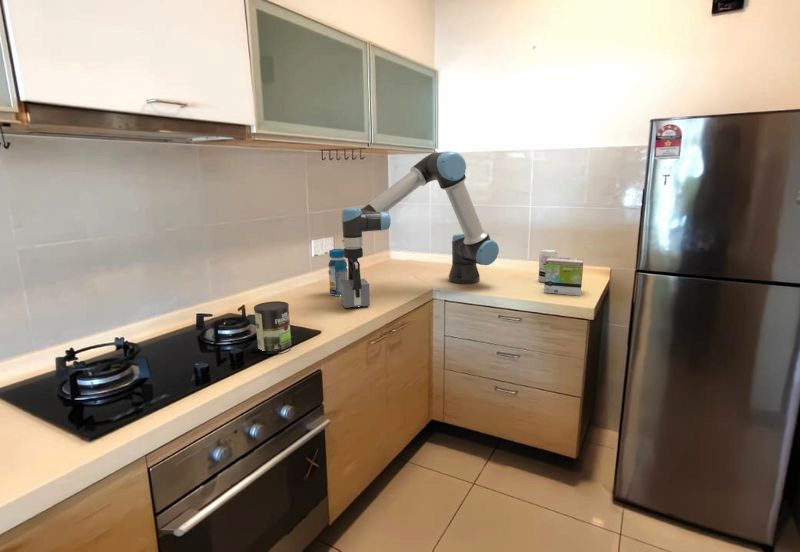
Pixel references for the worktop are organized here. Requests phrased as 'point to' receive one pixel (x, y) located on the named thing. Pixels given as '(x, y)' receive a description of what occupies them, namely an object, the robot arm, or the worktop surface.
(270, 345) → the coffee can
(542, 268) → the white carton
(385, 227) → the robot arm
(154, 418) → the worktop surface
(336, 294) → the beverage bottle
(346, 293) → the gray rectangular box
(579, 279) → the tea box
